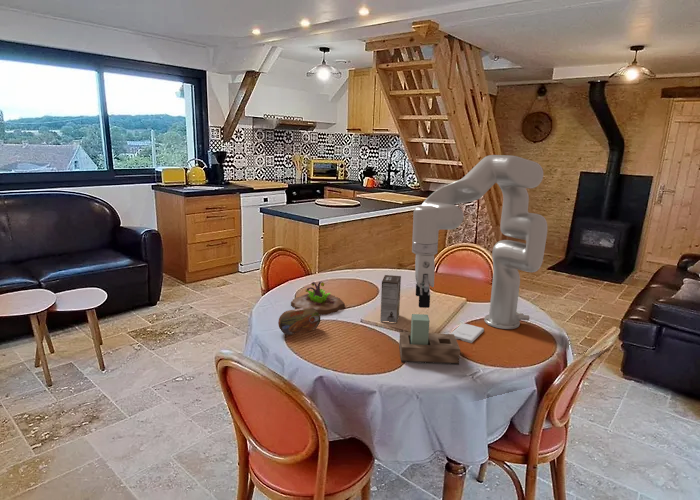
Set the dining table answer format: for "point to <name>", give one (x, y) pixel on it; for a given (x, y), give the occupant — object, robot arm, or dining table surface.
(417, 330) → the square peg
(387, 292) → the coffee box
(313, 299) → the plant
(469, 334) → the external hard drive
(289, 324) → the tin
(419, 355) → the socket block
